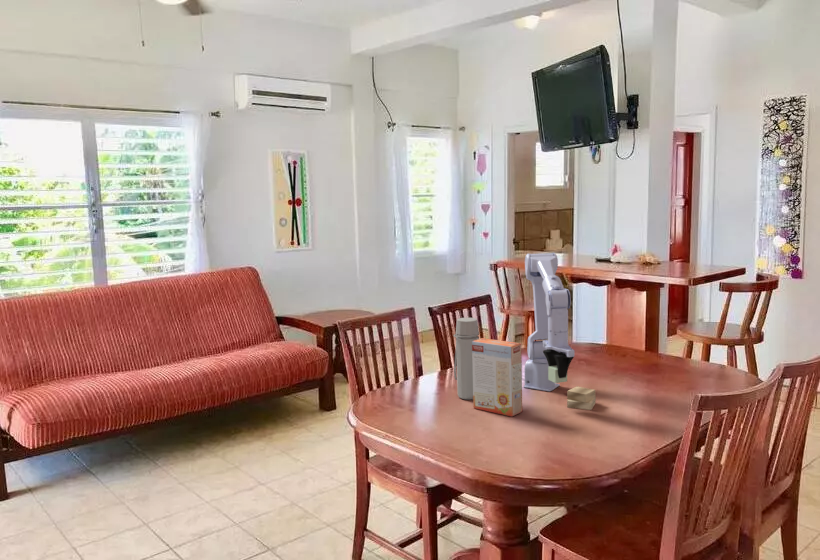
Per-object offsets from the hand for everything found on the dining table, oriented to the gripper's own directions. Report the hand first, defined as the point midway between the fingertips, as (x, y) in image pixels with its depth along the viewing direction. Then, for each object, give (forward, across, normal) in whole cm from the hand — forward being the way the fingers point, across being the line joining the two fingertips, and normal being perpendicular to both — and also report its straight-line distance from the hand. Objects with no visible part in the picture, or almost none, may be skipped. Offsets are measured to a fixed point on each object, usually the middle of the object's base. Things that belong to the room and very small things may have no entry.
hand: (558, 375), depth 199 cm
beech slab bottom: (+10, +1, +7) cm, 13 cm away
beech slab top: (+8, +1, +7) cm, 11 cm away
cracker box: (+10, -5, -18) cm, 21 cm away
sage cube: (+2, 0, 0) cm, 2 cm away
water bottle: (+10, -21, -20) cm, 31 cm away
